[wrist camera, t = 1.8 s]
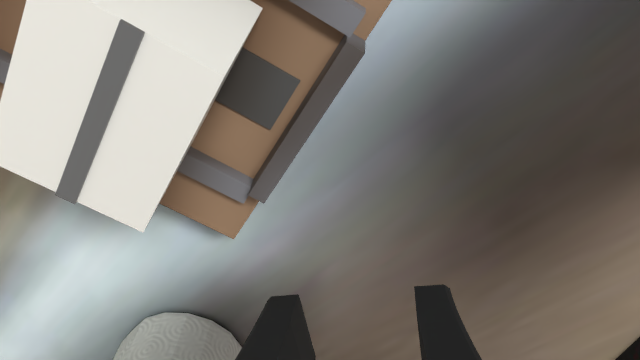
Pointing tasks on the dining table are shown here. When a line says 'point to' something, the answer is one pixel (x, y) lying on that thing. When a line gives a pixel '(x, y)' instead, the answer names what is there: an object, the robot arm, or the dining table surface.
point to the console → (256, 102)
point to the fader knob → (115, 95)
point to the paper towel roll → (178, 339)
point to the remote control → (631, 352)
